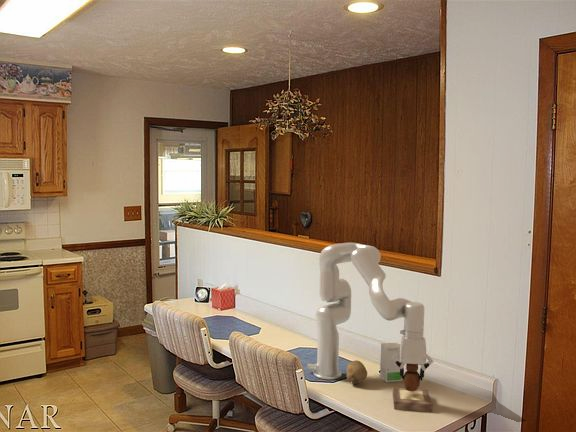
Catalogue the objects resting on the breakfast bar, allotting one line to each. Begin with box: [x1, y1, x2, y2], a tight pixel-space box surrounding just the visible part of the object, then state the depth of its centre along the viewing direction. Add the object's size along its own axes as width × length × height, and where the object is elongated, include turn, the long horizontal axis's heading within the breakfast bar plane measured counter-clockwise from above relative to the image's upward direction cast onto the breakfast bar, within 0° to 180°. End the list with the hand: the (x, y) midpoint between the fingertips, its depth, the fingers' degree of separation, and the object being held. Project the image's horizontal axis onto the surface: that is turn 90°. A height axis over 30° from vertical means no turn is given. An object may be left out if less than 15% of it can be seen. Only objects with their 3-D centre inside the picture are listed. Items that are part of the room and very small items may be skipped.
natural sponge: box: [345, 360, 368, 385], centre depth 234 cm, size 9×9×10 cm
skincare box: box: [379, 342, 403, 383], centre depth 239 cm, size 8×7×16 cm
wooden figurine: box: [402, 364, 421, 391], centre depth 214 cm, size 7×6×15 cm
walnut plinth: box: [392, 387, 433, 413], centre depth 215 cm, size 14×14×3 cm
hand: (411, 378), depth 215 cm, fingers closed on wooden figurine, 6 cm apart
